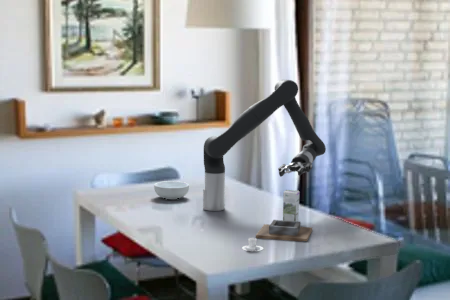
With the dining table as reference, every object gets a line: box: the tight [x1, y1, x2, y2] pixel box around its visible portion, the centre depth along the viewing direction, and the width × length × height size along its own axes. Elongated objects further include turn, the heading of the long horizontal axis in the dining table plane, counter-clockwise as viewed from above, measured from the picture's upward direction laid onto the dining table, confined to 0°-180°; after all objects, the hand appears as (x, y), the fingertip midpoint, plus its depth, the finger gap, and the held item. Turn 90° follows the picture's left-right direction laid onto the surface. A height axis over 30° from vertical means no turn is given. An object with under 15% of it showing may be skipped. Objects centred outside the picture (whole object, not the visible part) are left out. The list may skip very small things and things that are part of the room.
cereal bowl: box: [153, 180, 190, 200], centre depth 354 cm, size 17×17×7 cm
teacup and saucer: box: [241, 237, 264, 252], centre depth 269 cm, size 9×8×4 cm
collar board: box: [255, 219, 313, 242], centre depth 290 cm, size 20×18×4 cm
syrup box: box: [282, 189, 300, 222], centre depth 305 cm, size 6×6×14 cm
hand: (289, 173), depth 312 cm, fingers open, 8 cm apart
